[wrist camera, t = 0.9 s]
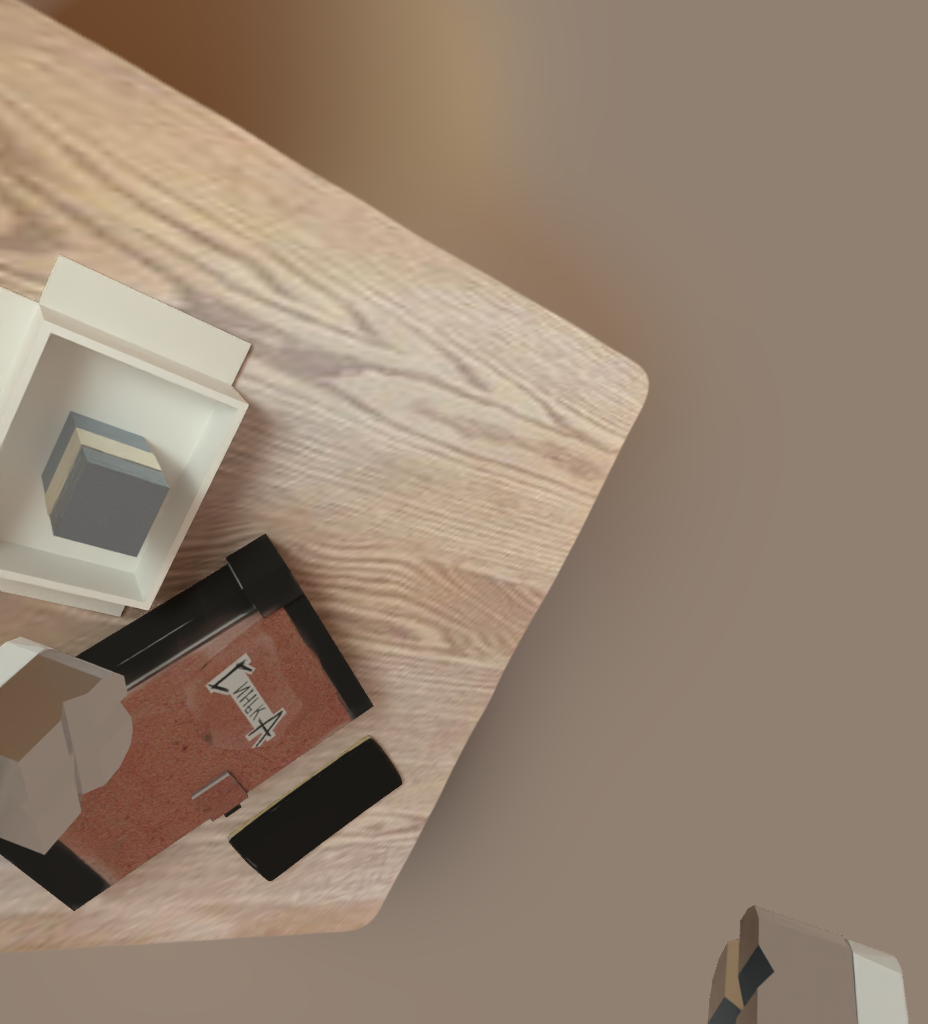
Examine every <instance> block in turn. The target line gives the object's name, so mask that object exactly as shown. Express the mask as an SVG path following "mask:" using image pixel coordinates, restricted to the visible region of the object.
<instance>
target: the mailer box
mask: <svg viewBox="0 0 928 1024" xmlns="http://www.w3.org/2000/svg"><path fill="white" fill-rule="evenodd" d="M250 346H251V344H250V343H249V342H246V341H244V340H242V339H240V338H238V337H236V336H234V335H231V334H229V333H227V332H225V331H223V330H221V329H219V328H216V327H214V326H212V325H210V324H208V323H206V322H204V321H201V320H199V319H197V318H195V317H193V316H191V315H189V314H186V313H184V312H182V311H180V310H178V309H176V308H174V307H171V306H169V305H167V304H165V303H163V302H161V301H159V300H156V299H154V298H152V297H150V296H148V295H146V294H143V293H141V292H139V291H137V290H135V289H133V288H131V287H128V286H126V285H124V284H122V283H120V282H118V281H116V280H113V279H111V278H109V277H107V276H105V275H103V274H101V273H98V272H96V271H94V270H92V269H90V268H88V267H86V266H83V265H81V264H79V263H77V262H75V261H73V260H71V259H68V258H66V257H64V256H62V255H60V254H59V256H58V258H57V260H56V262H55V265H54V267H53V269H52V272H51V274H50V276H49V279H48V281H47V283H46V286H45V288H44V290H43V293H42V295H41V297H40V300H39V302H36V301H34V300H32V299H29V298H27V297H25V296H22V295H20V294H17V293H15V292H13V291H10V290H8V289H6V288H3V287H1V286H0V591H2V592H7V593H12V594H16V595H21V596H26V597H30V598H35V599H39V600H44V601H49V602H53V603H58V604H63V605H67V606H72V607H77V608H81V609H86V610H91V611H95V612H100V613H105V614H109V615H114V616H119V617H120V615H121V613H122V611H123V609H124V607H125V605H126V606H130V607H135V608H139V609H144V610H148V611H149V609H150V607H151V605H152V603H153V601H154V599H155V597H156V594H157V592H158V590H159V588H160V586H161V584H162V582H163V580H164V578H165V576H166V574H167V572H168V570H169V568H170V566H171V564H172V562H173V560H174V558H175V556H176V554H177V552H178V549H179V547H180V545H181V543H182V541H183V539H184V537H185V535H186V533H187V531H188V529H189V527H190V525H191V523H192V521H193V519H194V517H195V515H196V513H197V511H198V509H199V506H200V504H201V502H202V500H203V498H204V496H205V494H206V492H207V490H208V488H209V486H210V484H211V482H212V480H213V478H214V476H215V474H216V472H217V470H218V468H219V466H220V464H221V461H222V459H223V457H224V455H225V453H226V451H227V449H228V447H229V445H230V443H231V441H232V439H233V437H234V435H235V433H236V431H237V429H238V427H239V425H240V423H241V421H242V419H243V416H244V414H245V412H246V410H247V408H248V406H249V404H248V403H247V402H246V401H245V400H244V399H243V398H242V396H241V395H240V394H239V393H238V392H237V391H236V390H235V389H234V388H233V386H232V383H233V381H234V379H235V377H236V375H237V373H238V371H239V369H240V367H241V365H242V363H243V361H244V359H245V357H246V354H247V352H248V350H249V348H250ZM70 411H72V412H75V413H78V414H81V415H84V416H86V417H89V418H92V419H95V420H98V421H100V422H103V423H106V424H109V425H112V426H114V427H117V428H120V429H123V430H126V431H128V432H131V433H134V434H137V435H140V436H142V437H144V439H145V441H146V443H147V445H148V447H149V449H150V451H151V453H152V454H154V456H155V458H156V460H157V462H158V463H159V465H160V467H161V469H162V474H163V476H164V478H165V480H166V482H167V484H168V486H169V487H170V489H169V491H168V493H167V495H166V497H165V499H164V502H163V504H162V506H161V508H160V510H159V512H158V514H157V516H156V518H155V520H154V522H153V524H152V527H151V529H150V531H149V533H148V535H147V537H146V539H145V541H144V543H143V545H142V547H141V549H140V552H139V554H138V556H137V557H133V556H129V555H125V554H121V553H118V552H114V551H110V550H106V549H102V548H99V547H95V546H91V545H87V544H83V543H80V542H76V541H72V540H68V539H64V538H61V537H57V536H53V531H52V526H51V521H50V517H48V514H47V509H46V504H45V499H44V496H45V492H44V487H43V482H42V477H41V475H42V473H43V471H44V469H45V466H46V464H47V462H48V460H49V457H50V455H51V453H52V451H53V449H54V446H55V444H56V442H57V440H58V437H59V435H60V433H61V431H62V429H63V426H64V424H65V422H66V420H67V417H68V415H69V413H70Z"/></svg>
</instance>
